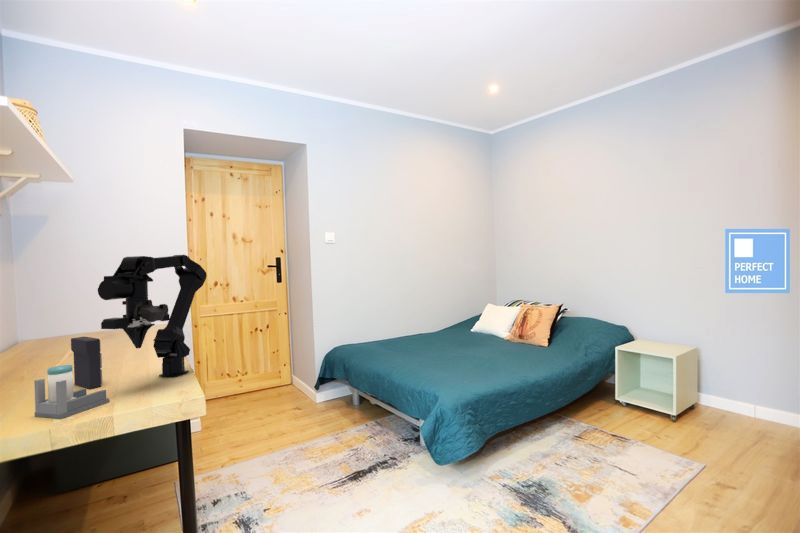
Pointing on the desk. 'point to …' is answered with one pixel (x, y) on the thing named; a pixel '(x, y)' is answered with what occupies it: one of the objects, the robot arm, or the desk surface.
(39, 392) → the mount
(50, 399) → the teal-lidded white jar
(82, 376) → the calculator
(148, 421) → the desk surface
